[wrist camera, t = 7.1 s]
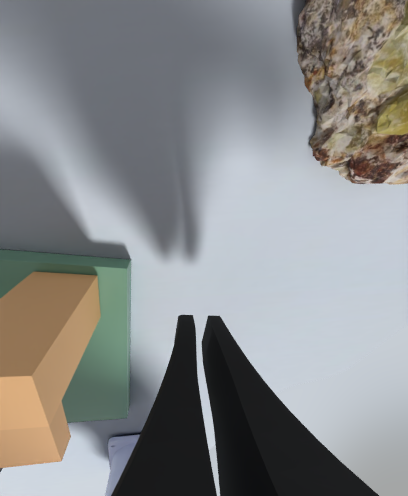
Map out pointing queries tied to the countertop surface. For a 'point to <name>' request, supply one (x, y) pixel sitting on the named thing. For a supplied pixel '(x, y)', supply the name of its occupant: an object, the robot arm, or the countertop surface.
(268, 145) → the countertop surface
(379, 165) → the mineral rock
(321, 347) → the countertop surface
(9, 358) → the orange l-shaped block
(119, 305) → the board
